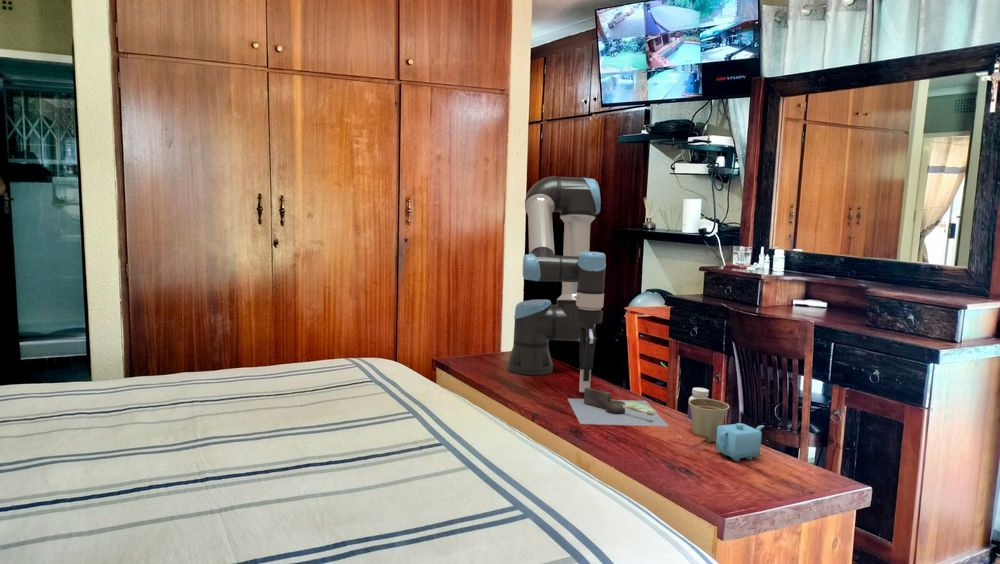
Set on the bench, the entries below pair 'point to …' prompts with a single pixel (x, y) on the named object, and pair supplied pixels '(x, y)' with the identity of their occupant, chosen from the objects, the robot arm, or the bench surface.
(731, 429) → the teapot
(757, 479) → the bench surface
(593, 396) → the dark long piece
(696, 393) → the pill bottle
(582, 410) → the tuner board
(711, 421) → the flower pot
